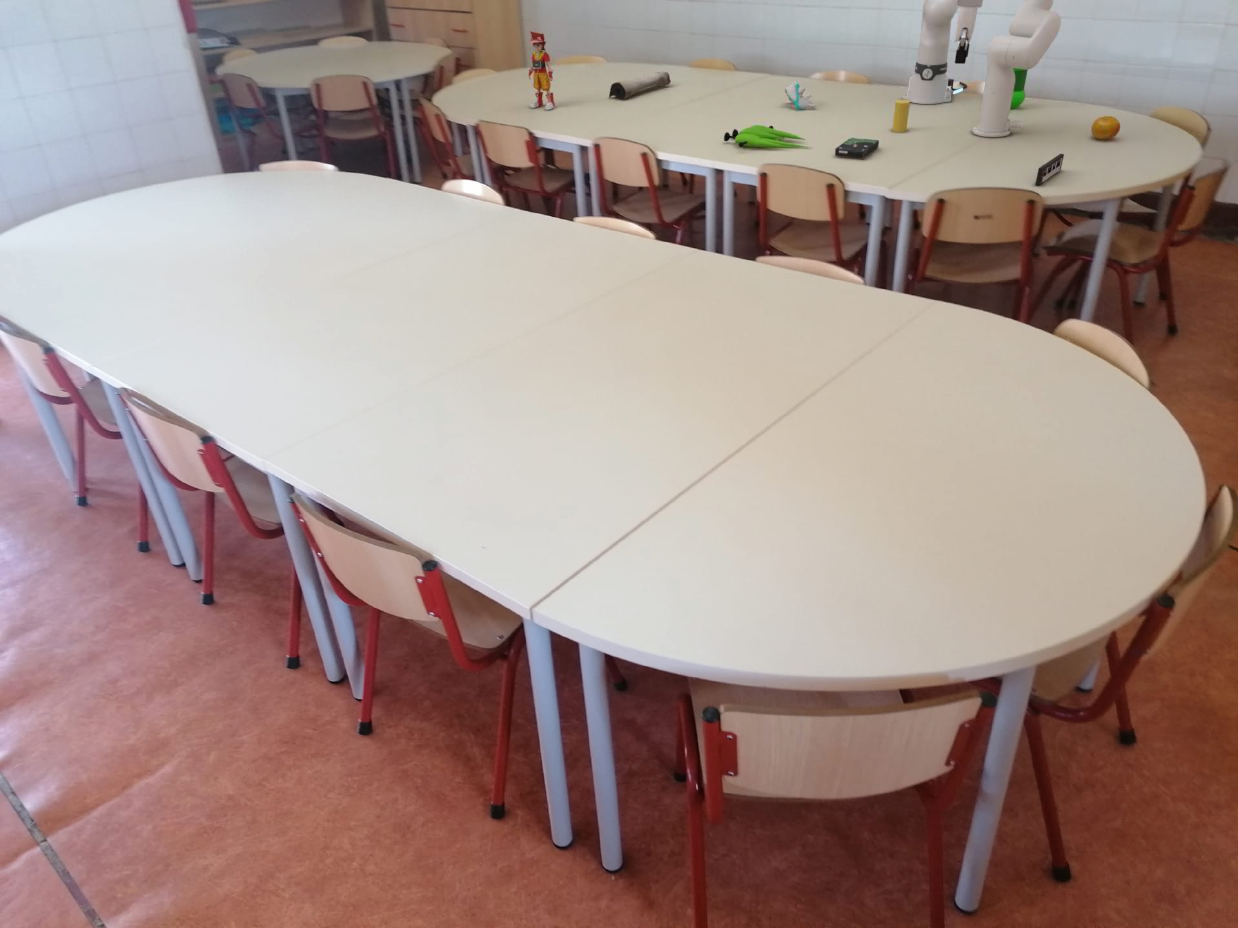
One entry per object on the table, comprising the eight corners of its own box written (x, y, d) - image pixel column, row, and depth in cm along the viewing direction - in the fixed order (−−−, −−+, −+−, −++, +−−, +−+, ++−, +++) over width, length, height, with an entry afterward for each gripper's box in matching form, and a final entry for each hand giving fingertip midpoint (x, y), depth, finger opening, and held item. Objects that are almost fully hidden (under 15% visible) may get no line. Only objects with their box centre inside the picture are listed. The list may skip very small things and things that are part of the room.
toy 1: (525, 109, 381) (517, 32, 364) (534, 104, 388) (527, 28, 371) (550, 110, 377) (543, 32, 360) (559, 105, 384) (553, 28, 367)
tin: (890, 129, 328) (893, 100, 322) (903, 128, 328) (907, 99, 323) (894, 132, 324) (898, 103, 318) (908, 131, 324) (912, 102, 319)
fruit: (1087, 130, 301) (1105, 108, 298) (1084, 133, 309) (1101, 112, 306) (1109, 144, 300) (1127, 122, 297) (1105, 147, 308) (1122, 126, 305)
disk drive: (864, 160, 299) (878, 148, 309) (864, 151, 297) (879, 139, 307) (834, 157, 304) (849, 145, 314) (835, 148, 302) (850, 136, 312)
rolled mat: (651, 76, 408) (662, 61, 399) (662, 93, 408) (674, 79, 400) (605, 92, 391) (616, 77, 383) (617, 110, 391) (628, 95, 383)
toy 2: (713, 146, 317) (792, 161, 304) (715, 131, 314) (794, 145, 301) (747, 132, 337) (821, 146, 325) (748, 118, 334) (824, 131, 322)
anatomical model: (780, 80, 363) (804, 74, 363) (784, 106, 369) (807, 100, 369) (789, 89, 351) (814, 82, 350) (792, 115, 357) (817, 109, 356)
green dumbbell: (1029, 106, 343) (1043, 35, 329) (1012, 111, 338) (1026, 39, 324) (1007, 102, 350) (1020, 32, 336) (989, 107, 345) (1002, 36, 331)
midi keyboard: (1039, 185, 269) (1043, 168, 266) (1035, 184, 270) (1038, 168, 267) (1060, 170, 279) (1064, 154, 277) (1056, 169, 280) (1060, 153, 277)
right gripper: (959, -3, 288) (951, 54, 298) (955, 6, 275) (946, 66, 285) (984, -3, 286) (975, 55, 296) (980, 6, 273) (971, 66, 283)
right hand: (961, 60), depth 290 cm, fingers open, 9 cm apart
